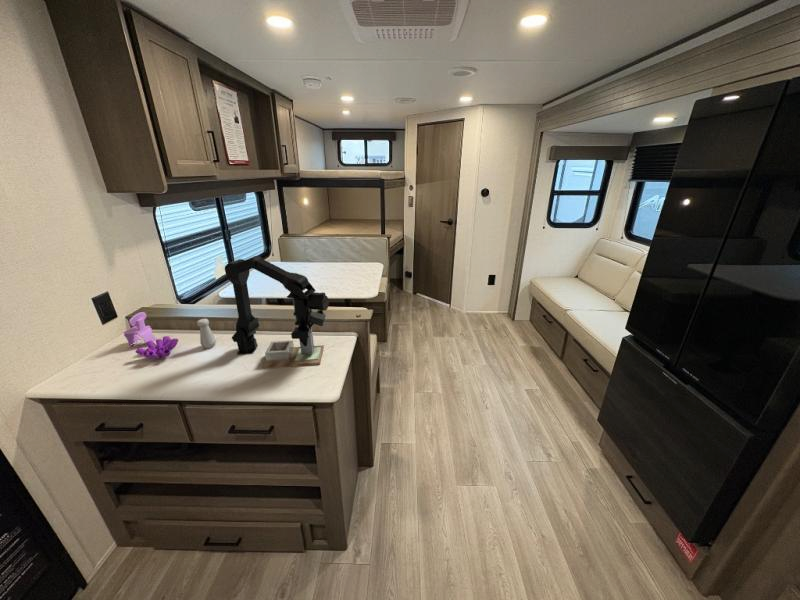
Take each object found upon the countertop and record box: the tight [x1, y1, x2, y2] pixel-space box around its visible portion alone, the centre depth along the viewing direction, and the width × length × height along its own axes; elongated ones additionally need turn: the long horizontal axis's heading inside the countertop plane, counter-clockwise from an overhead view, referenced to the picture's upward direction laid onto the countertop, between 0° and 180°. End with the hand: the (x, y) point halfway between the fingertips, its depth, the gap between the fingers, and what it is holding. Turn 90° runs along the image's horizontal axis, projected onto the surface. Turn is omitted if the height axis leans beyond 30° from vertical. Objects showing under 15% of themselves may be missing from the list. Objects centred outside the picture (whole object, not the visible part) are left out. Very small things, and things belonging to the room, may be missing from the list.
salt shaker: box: [196, 318, 217, 350], centre depth 132 cm, size 6×6×13 cm
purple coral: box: [134, 335, 179, 359], centre depth 127 cm, size 11×15×10 cm
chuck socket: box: [264, 339, 295, 363], centre depth 125 cm, size 9×9×4 cm
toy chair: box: [123, 311, 158, 347], centre depth 135 cm, size 8×9×15 cm
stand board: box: [262, 345, 325, 369], centre depth 127 cm, size 22×13×1 cm, turn 96°
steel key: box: [299, 327, 315, 354], centre depth 124 cm, size 4×4×10 cm
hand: (306, 342), depth 125 cm, fingers closed on steel key, 4 cm apart
